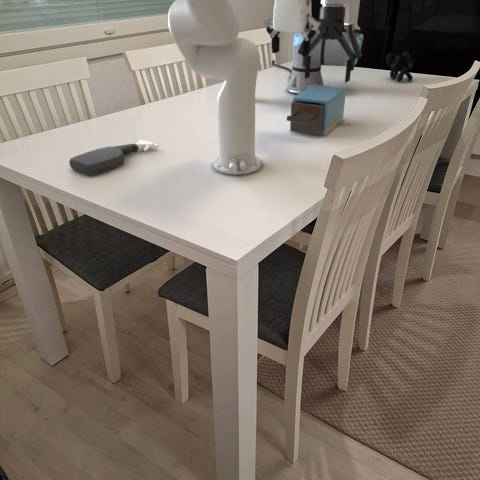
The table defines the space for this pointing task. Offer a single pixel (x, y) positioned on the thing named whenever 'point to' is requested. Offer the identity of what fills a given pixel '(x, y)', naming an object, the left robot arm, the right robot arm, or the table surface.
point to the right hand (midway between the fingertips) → (326, 79)
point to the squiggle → (399, 66)
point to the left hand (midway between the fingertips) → (290, 53)
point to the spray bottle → (106, 157)
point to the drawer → (306, 117)
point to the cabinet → (326, 103)
